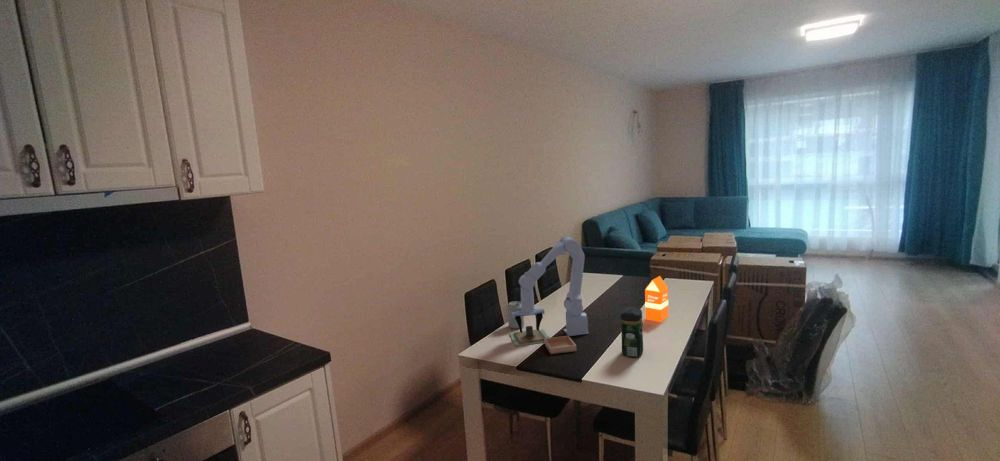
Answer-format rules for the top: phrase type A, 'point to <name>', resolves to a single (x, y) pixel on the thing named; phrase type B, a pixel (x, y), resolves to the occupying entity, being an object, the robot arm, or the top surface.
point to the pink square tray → (560, 344)
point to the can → (514, 307)
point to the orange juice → (656, 300)
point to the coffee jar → (632, 332)
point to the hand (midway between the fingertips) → (529, 330)
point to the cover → (529, 335)
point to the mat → (526, 343)
